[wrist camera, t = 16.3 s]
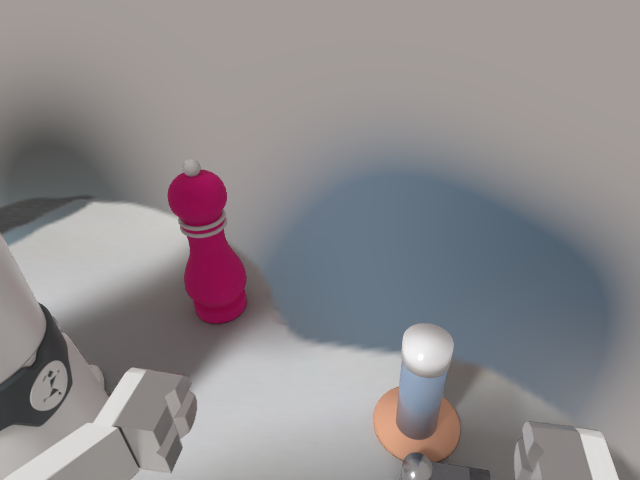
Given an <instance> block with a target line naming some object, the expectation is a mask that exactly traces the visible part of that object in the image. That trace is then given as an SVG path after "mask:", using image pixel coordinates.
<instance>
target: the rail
mask: <svg viewBox="0 0 640 480" xmlns="http://www.w3.org/2000/svg"><path fill="white" fill-rule="evenodd" d="M401 480H490V473H489V471H488V470H482V469H475V468H469V467H462V466H456V465H449V464H443V463H436V462H431V461H430V460H429V459H428V458H427V457H426V456H425V455H423V454H421V453H417V452H414V453H410V454H408V455H407V456H406V457H405V458H404V460H403V466H402V474H401Z"/></svg>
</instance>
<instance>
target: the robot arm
mask: <svg viewBox="0 0 640 480" xmlns="http://www.w3.org/2000/svg"><path fill="white" fill-rule="evenodd" d="M60 330H61V328H60V326H59V324H58V323H57V321H56V319H55V318H54V317H52V315H51V314H50V312H49V311H48V309H47V308H46V307H45V306H43V305H42V304H40V303H39V302H37V300H36V298H35V296H34V294H33V292H32V291H31V289H30V287H29V285H28V283H27V281H26V279H25V277H24V276H23V274H22V272H21V270H20V268H19V266H18V264H17V263H16V261H15V259H14V257H13V255H12V253H11V251H10V250H9V248H8V246H7V244H6V242H5V240H4V238H3V236H2V235H1V233H0V480H130V479H131V478H132V477H133V476H134V475H136V474H137V473H138V472H139V469H145V470H152V471H159V472H166V473H172V470H173V468H174V466H175V464H176V461H177V459H178V457H179V455H180V453H181V450H182V448H183V447H182V443H181V438H182V437H183V436H185V435H186V434H187V433H189V432H190V430H191V428H192V425H193V423H194V421H195V416H196V411H197V400H196V396H195V394H194V393H192V392H191V391H190V390H189V388H190V386H191V384H192V383H191V381H190V378H189V376H187V375H180V374H174V373H167V372H160V371H153V370H148V369H140V368H133V367H132V368H130V369H129V370H128V371H127V372H126V373H125V374H124V375H123V377H122V379H121V380H120V382H119V383H118V385H117V386H116V388H115V389H114V391H113V393H112V394H111V396H110V397H109V396H108V395H107V394H106V392H105V390H104V376H103V373H102V372H101V370H100V369H99V367H98V366H96V365H88V364H87V362H86V361H85V359H84V358H83V356H82V355H81V354H80V352H79V351H78V349H77V348H76V346H75V345H74V344H73V342H72V341H71V339H70V338H69V337H68V336H67V335H66V334H65V333H63V332H61V331H60ZM522 433H523V438H522V439H520V440H518V441H517V444H516V447H515V453H514V472H515V479H516V480H619V477H618V474H617V471H616V468H615V466H614V463H613V460H612V457H611V454H610V451H609V448H608V445H607V442H606V439H605V437H604V435H603V434H602V433H601V432H600V431H598V430H592V429H584V428H576V427H573V426H565V425H557V424H548V423H540V422H531V421H527V422H525V423H524V426H523V428H522Z"/></svg>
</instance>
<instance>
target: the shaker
mask: <svg viewBox="0 0 640 480" xmlns="http://www.w3.org/2000/svg"><path fill="white" fill-rule="evenodd" d="M453 349H454V342H453V339H452V337H451V336H450V334H449V333H448V332H447V331H445V330H444V329H443V328H441V327H439V326H437V325H433V324H428V323H427V324H426V323H422V324H416V325H413V326H411V327H410V328H408V329H407V330H406V332H405V333H404V336H403V343H402V353H401V359H402V364H401V374H400V383H399V392H398V402H397V411H396V424H397V427H398V429H399V430H400V431H401V432H402V433H403V434H404V435H405V436H407V437H408V438H411V439H414V440H424V439H427V438H429V437H431V436H432V435H433V434H434V432H435V431H436V427H437V422H438V417H439V412H440V407H441V402H442V397H443V392H444V387H445V382H446V377H447V372H448V369H449V367H450V364H451V359H452V354H453Z"/></svg>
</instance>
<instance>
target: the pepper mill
mask: <svg viewBox="0 0 640 480" xmlns="http://www.w3.org/2000/svg"><path fill="white" fill-rule="evenodd" d="M182 168H183V172H184V173H182V174H180V175H178V176H177V177H176V178H175V179H174V180H173V181H172V183H171V184H170V187H169V190H168V202H169V206H170V208H171V210H172V211H173V213H174V214H175V215H177V216H178V217H179V219H178V221H179V224H180V229H181V231H182V233H183V234H184V235H186V236H187V238H188V240H189V246H190V255H189V259H188V262H187V265H186V270H185V276H184V282H185V289H186V292H187V293H188V295H189V296H190V297H191V298H192V299H193V300H194V306H195V309H196V313H197V315H198V316H199V318H200V319H202V320H203V321H205V322H208V323H213V324H220V323H225V322H229V321H232V320H233V319H235V318H237V317H238V316H239V315H240V314H241V313H242V312H243V311H244V309H245V307H246V304H247V301H246V295H245V290H244V287H245V285H246V272H245V269H244V266H243V264H242V262H241V260H240V259H239V257H238V256H237V255H236V254H235V252H234V251H233V250H232V249H231V247H230V246H229V245H228V243H227V241H226V238H225V234H224V228H225V226H226V224H227V219H226V217H225V210H224V209H223V208H224V206H225V204H226V201H227V192H226V188H225V186H224V184H223V182H222V181H221V180H220V178H219V177H218V176H217V175H215V174H214V173H212V172H209V171H206V170H201V167H200V164H199V163H198V162H197V161H196V160H194V159H189V160H186V161H185V162H184V164H183V167H182Z"/></svg>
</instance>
